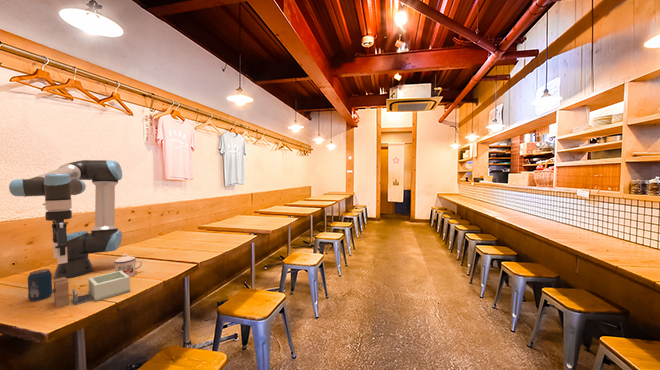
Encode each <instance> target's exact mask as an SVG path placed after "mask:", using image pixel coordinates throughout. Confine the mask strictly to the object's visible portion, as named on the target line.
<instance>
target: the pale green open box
mask: <svg viewBox="0 0 660 370" xmlns="http://www.w3.org/2000/svg"><path fill="white" fill-rule="evenodd" d="M87 279H88V280H87V281H88V283H87V284H88V294H91V295H92V297H93V298H94V300H93V301H94V302H98V301H99V302H100V301H103V300H106V299H110V298H113V297H116V296H120V295H123V294H126V293H130V292H131V286H130V285H131V284H130V283H131V280H130V279H131V276H130V277H129V276H128V275H127V274H125V273H124V272H123V271H117V272H115V271H114V272H109V273H104V274H100V275H96V276H91V277H87Z"/></svg>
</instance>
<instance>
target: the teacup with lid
mask: <svg viewBox="0 0 660 370" xmlns="http://www.w3.org/2000/svg"><path fill="white" fill-rule="evenodd" d="M137 262H139V263H140V265H139V266H138V267H136V263H137ZM113 263H114V272H117V271H123V272H124V273H125V274H127V275H128V276H129V277H130V278H131V277H132V276H135V275H136V270H138V269H140V268H142V267H143V266H142V265H143V261H142V260H140V259H136V257H135V256H132V255H128V253H124V254H122V256H120V257H118V258H116V259H115V260H114V261H113Z"/></svg>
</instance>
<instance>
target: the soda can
mask: <svg viewBox="0 0 660 370" xmlns="http://www.w3.org/2000/svg"><path fill="white" fill-rule="evenodd" d="M52 276H53V275H52V272H51V270H50V269H48V268H46V269H45V268H44V269H39V270H34V271H32V272H30V273H29V275H28V276H27V293H28V294H27V297H28V299H29V301H31V302H36V301H37V302H38V301H42V300H45V299H47V298H49V297H51V295H52V294H53V278H52Z"/></svg>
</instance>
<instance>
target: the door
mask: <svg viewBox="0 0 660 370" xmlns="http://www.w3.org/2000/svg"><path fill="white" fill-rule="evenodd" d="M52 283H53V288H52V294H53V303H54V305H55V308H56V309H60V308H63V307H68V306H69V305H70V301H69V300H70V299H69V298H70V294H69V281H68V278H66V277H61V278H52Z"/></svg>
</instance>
